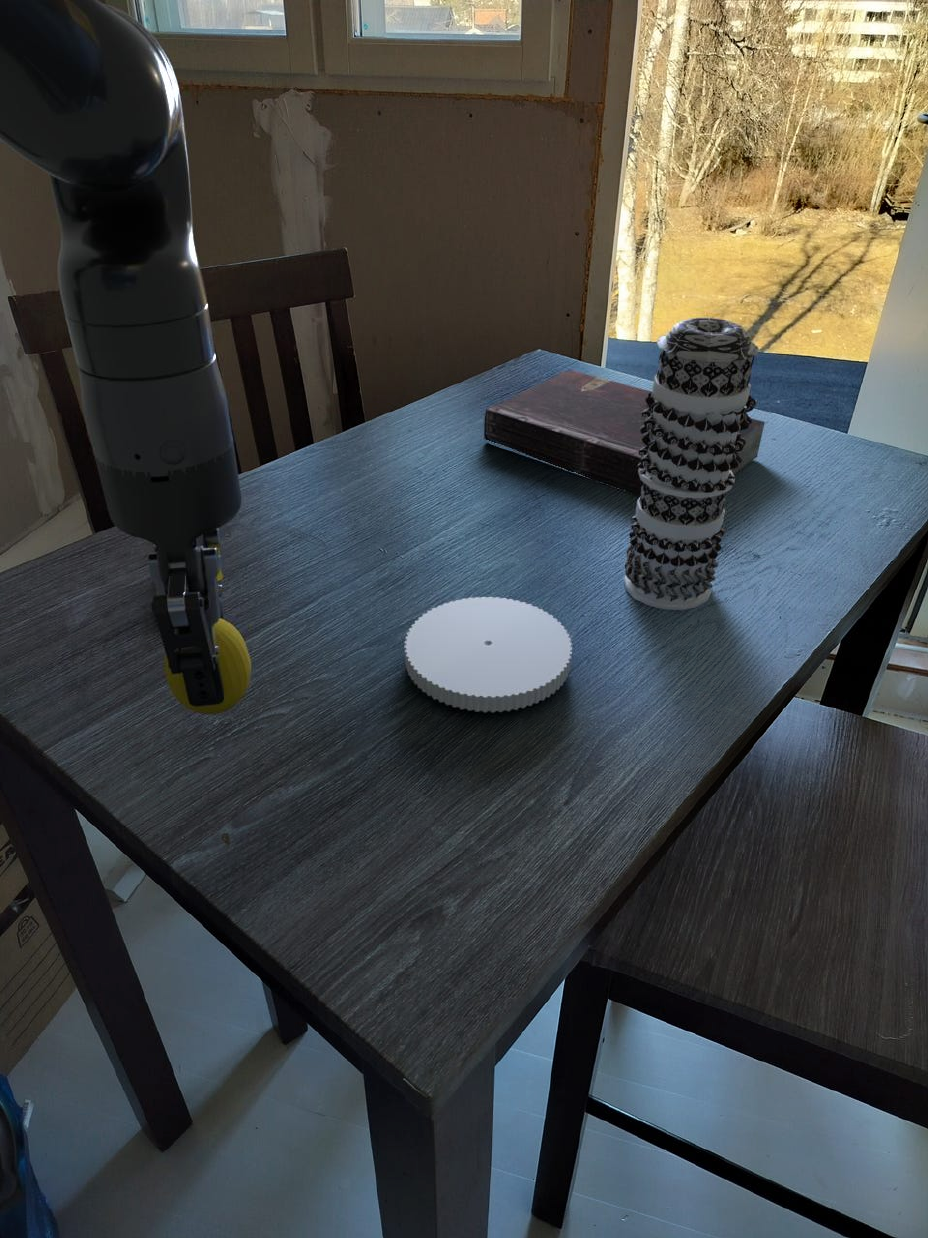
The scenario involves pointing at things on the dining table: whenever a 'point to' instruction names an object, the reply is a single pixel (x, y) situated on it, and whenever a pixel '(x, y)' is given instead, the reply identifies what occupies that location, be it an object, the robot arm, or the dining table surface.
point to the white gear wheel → (488, 654)
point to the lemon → (231, 666)
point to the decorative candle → (689, 461)
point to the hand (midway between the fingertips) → (209, 671)
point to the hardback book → (586, 427)
